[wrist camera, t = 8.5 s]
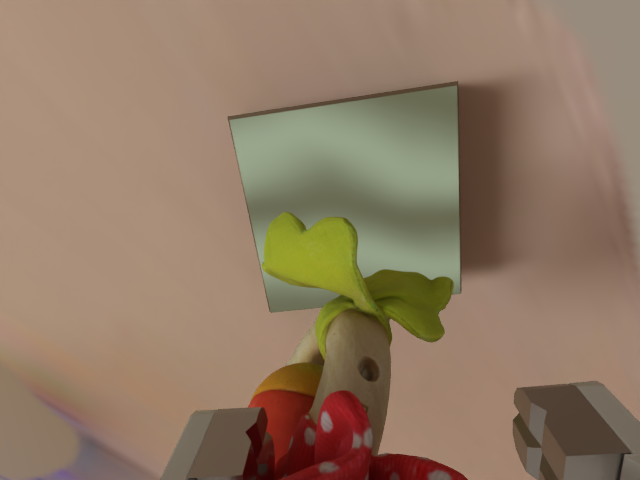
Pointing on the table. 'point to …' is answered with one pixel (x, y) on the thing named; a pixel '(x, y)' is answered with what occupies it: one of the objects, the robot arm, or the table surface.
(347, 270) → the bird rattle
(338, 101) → the sage green square tile
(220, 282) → the table surface
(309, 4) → the table surface
